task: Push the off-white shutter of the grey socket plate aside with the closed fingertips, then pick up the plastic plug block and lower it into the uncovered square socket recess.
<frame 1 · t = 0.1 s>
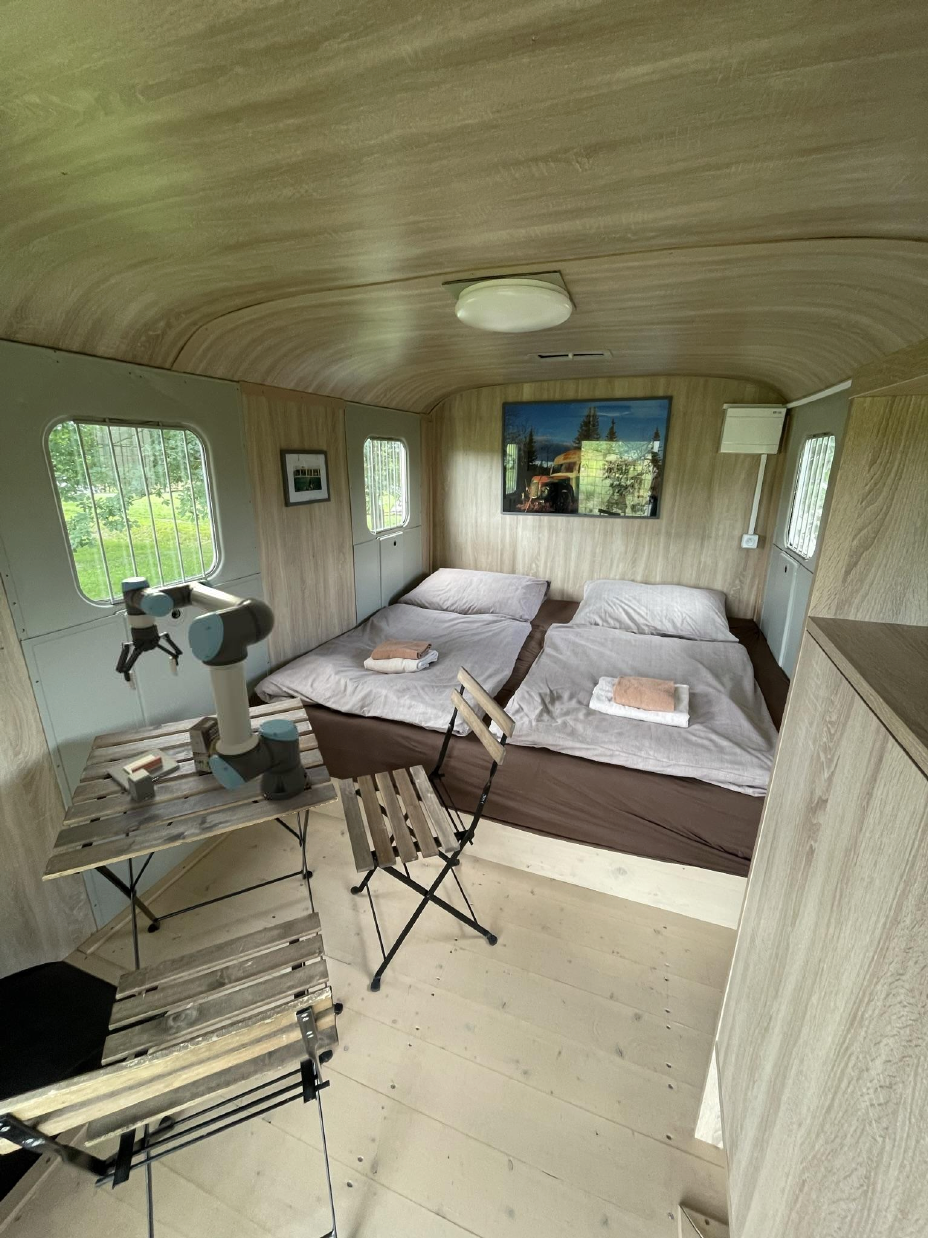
hand: (154, 681, 172), 28 cm above the table, fingers open, 13 cm apart
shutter: (142, 762, 170), point 3 cm above the table, slide at 0.0 cm
coffee box: (211, 763, 176), on the table
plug: (143, 795, 159), on the table
socket plate: (144, 770, 171), on the table
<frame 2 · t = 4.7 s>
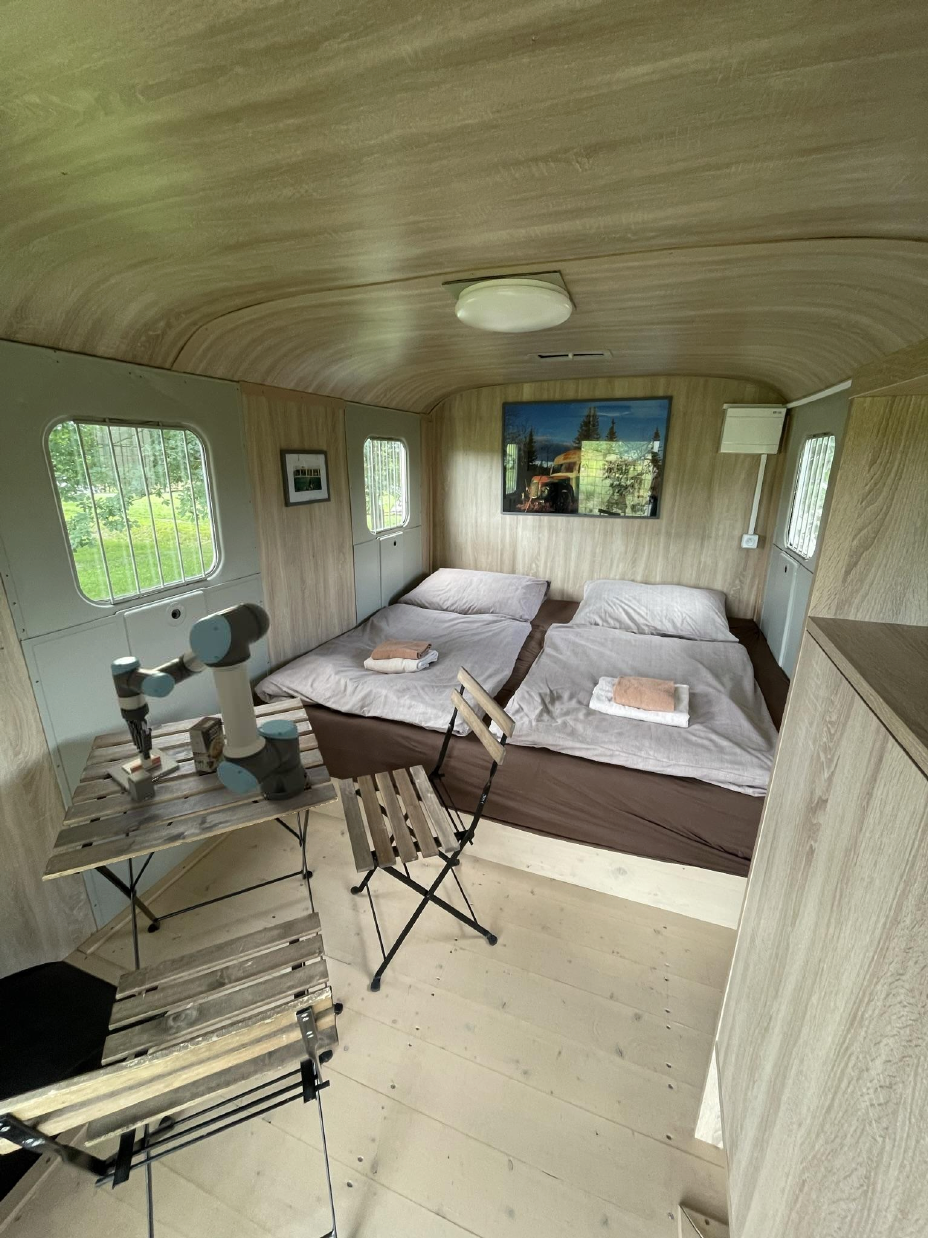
hand: (147, 766, 168), 4 cm above the table, fingers closed
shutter: (141, 761, 170), point 3 cm above the table, slide at 0.9 cm, touching gripper
everything else where it was.
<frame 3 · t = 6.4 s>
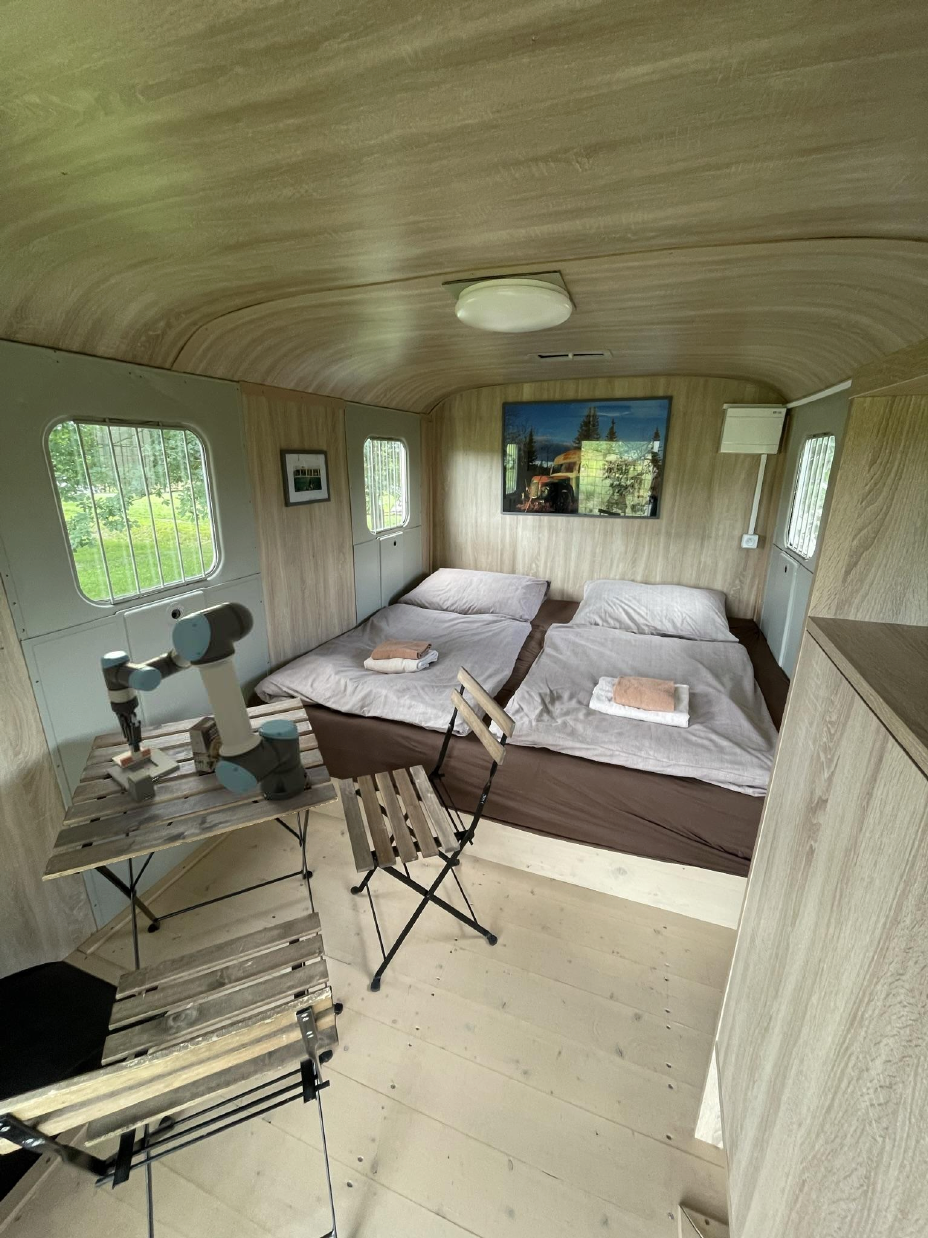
hand: (137, 758, 172), 3 cm above the table, fingers closed
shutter: (131, 753, 174), point 3 cm above the table, slide at 8.2 cm, touching gripper
everything else where it was.
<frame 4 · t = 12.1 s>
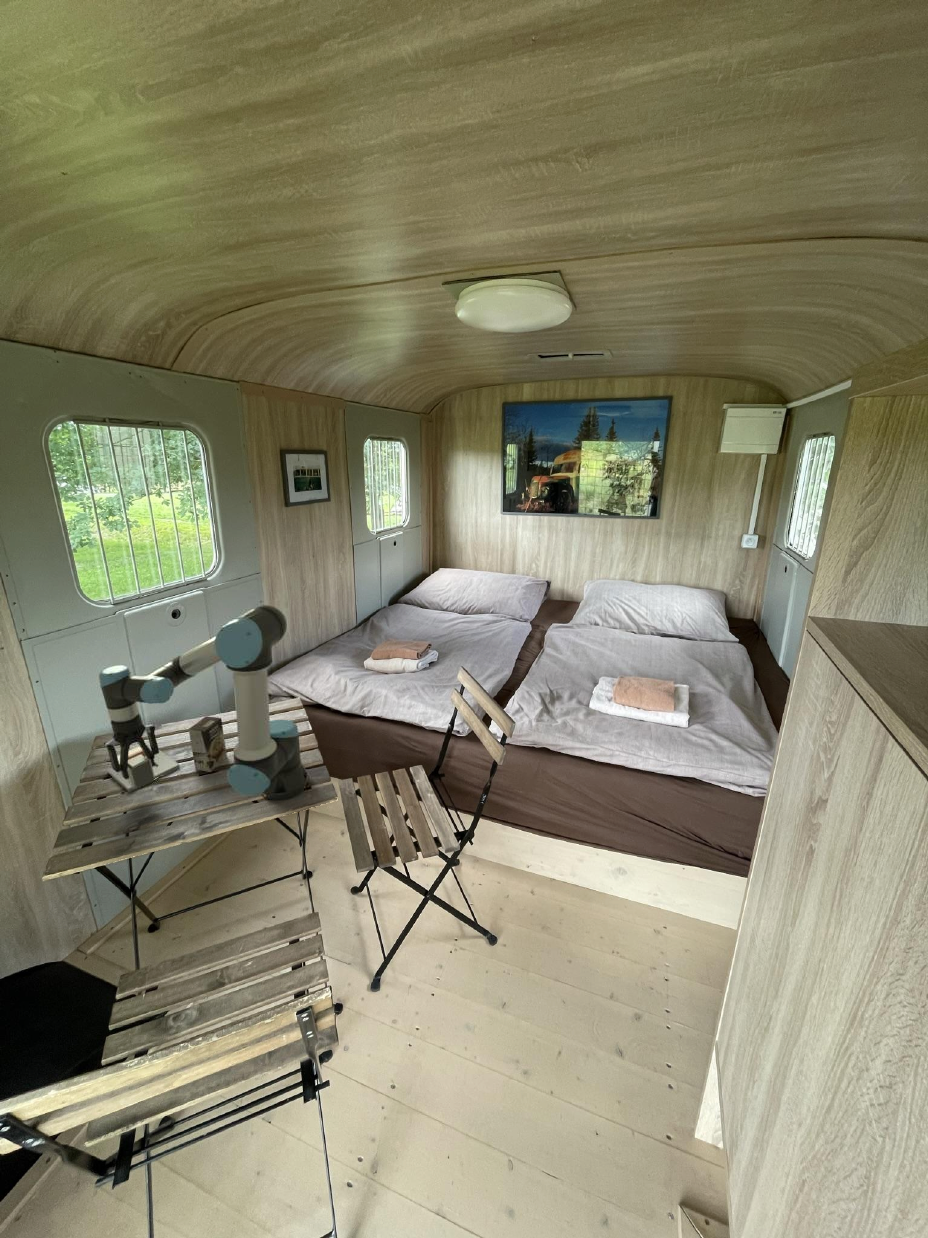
hand: (141, 780, 157), 6 cm above the table, fingers closed on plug, 5 cm apart
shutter: (131, 753, 174), point 3 cm above the table, slide at 8.2 cm
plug: (142, 781, 157), point 5 cm above the table, touching gripper
everything else where it was.
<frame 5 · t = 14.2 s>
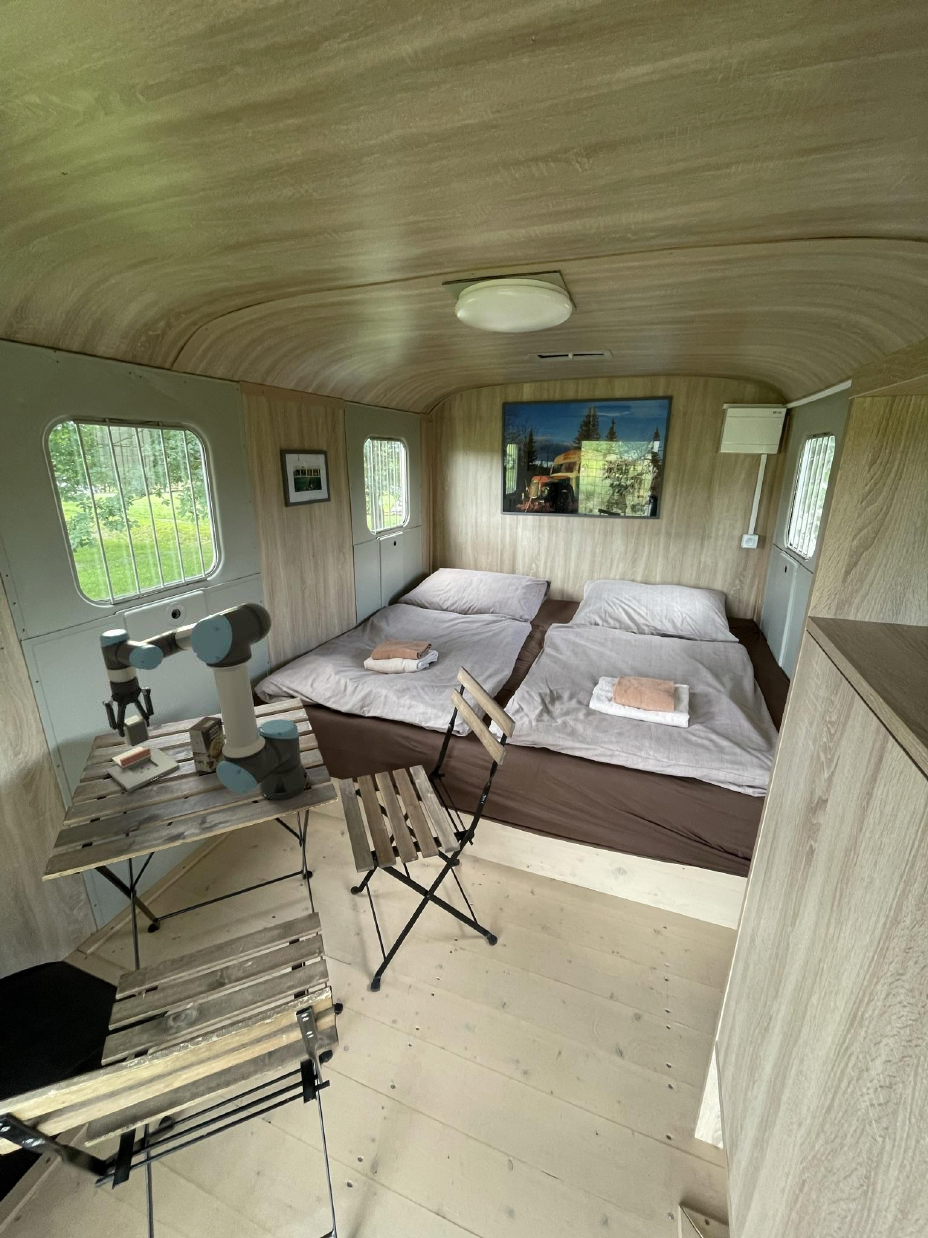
hand: (136, 739, 167), 12 cm above the table, fingers closed on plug, 5 cm apart
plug: (137, 740, 167), point 12 cm above the table, touching gripper
everything else where it was.
when the fingers open (2 cm above the table, at t = 16.2 s): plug stays where it is, resting on socket plate.
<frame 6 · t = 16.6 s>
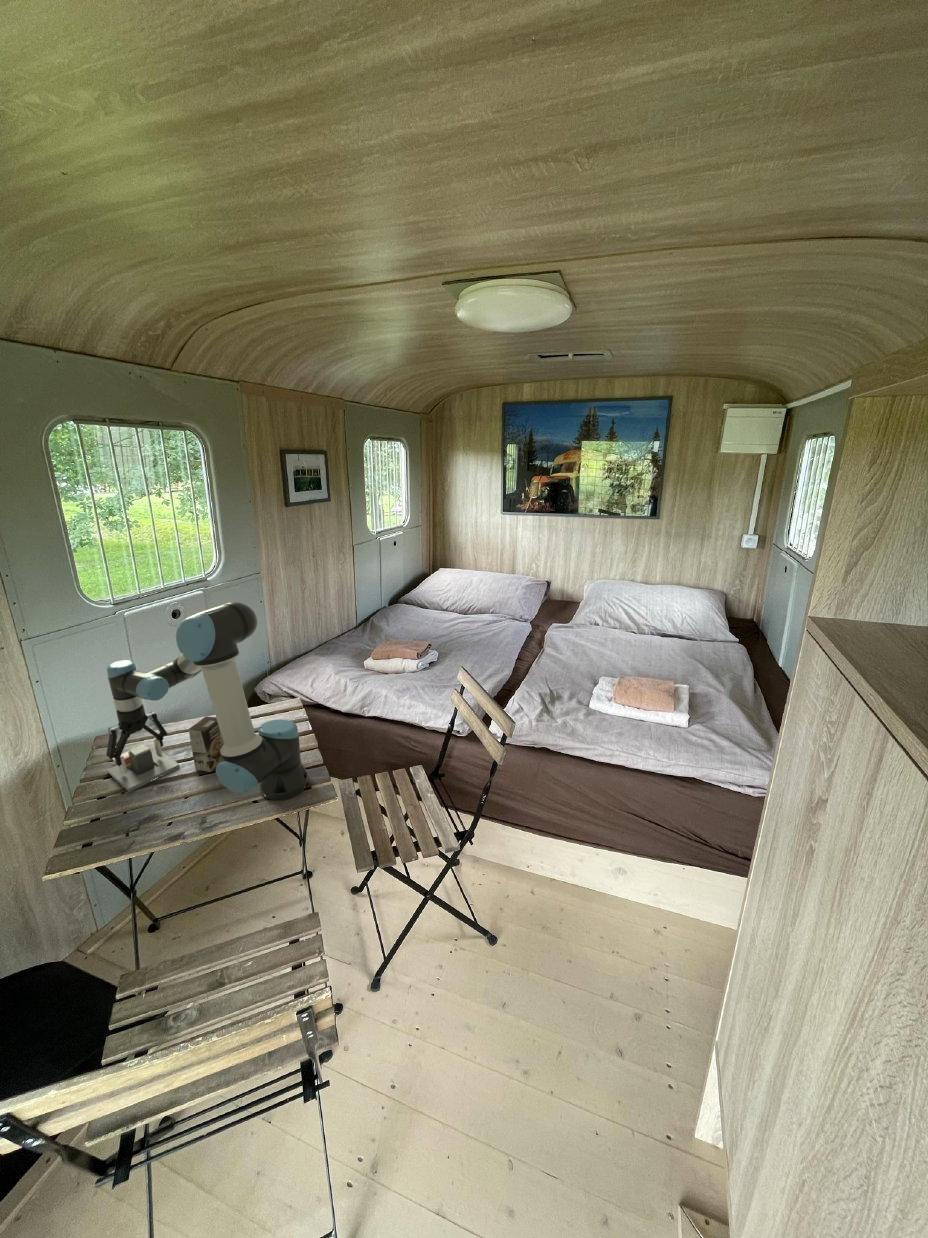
hand: (142, 763, 170), 3 cm above the table, fingers open, 10 cm apart
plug: (143, 769, 171), resting on socket plate
everything else where it was.
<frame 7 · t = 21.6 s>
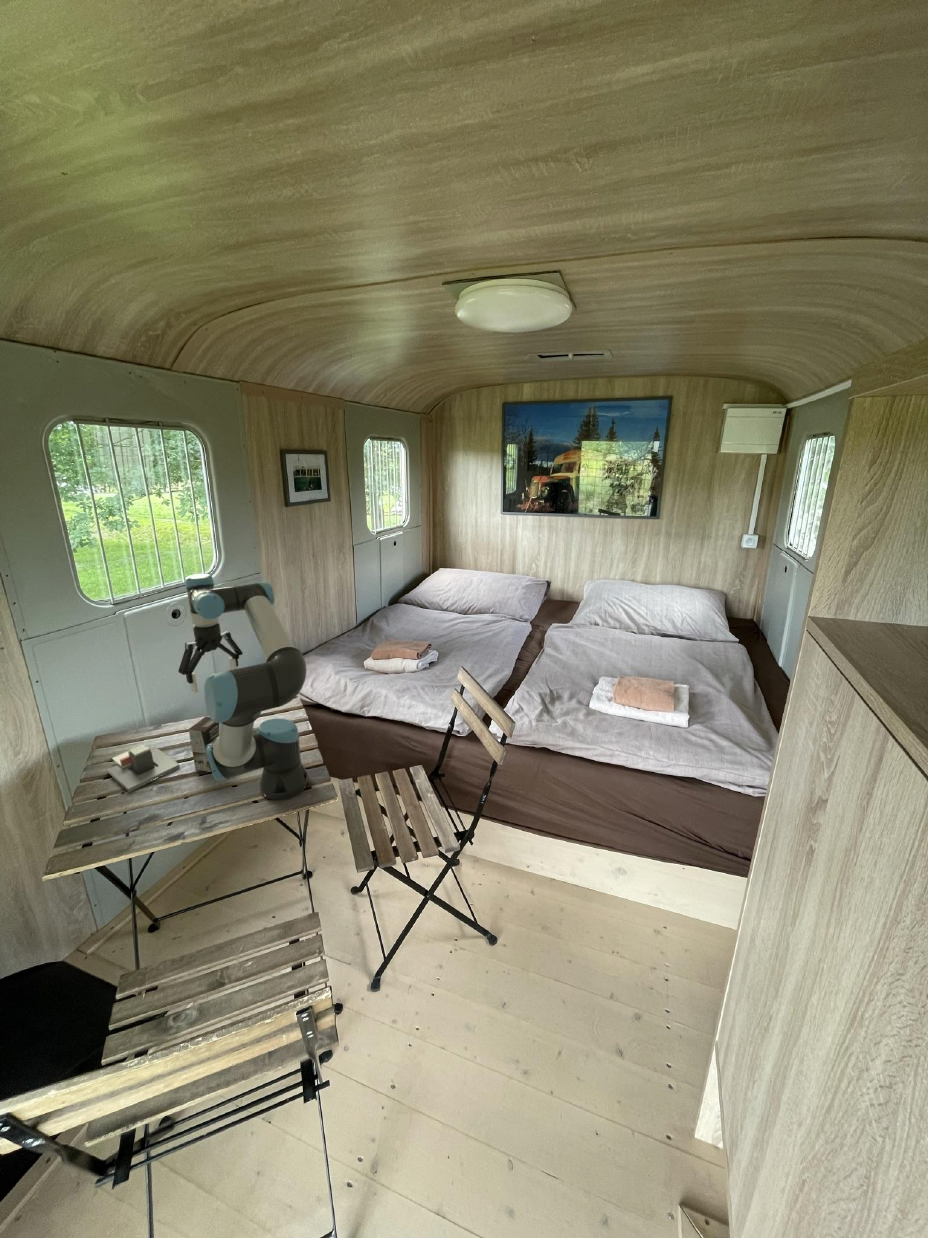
hand: (215, 683, 165), 32 cm above the table, fingers open, 13 cm apart
nothing on the table moved.
at the end: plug 0.0 cm off-centre on the socket plate, point 0.5 cm above the socket plate's base; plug tilted 0°; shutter slide at 8.2 cm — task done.
